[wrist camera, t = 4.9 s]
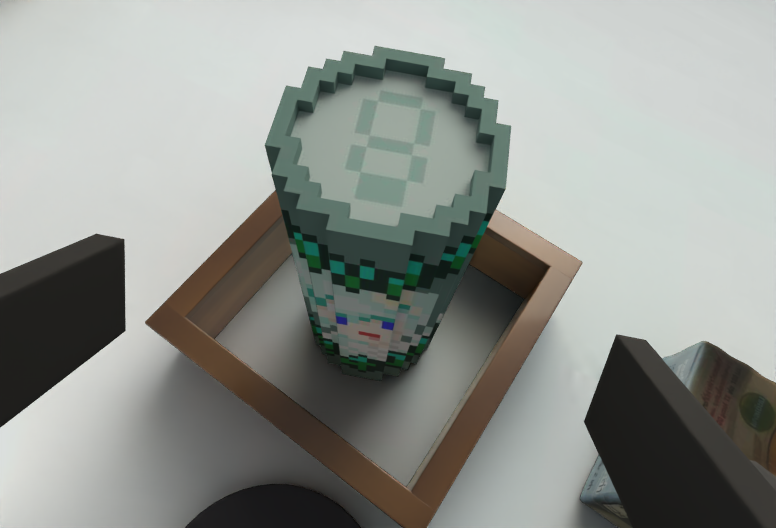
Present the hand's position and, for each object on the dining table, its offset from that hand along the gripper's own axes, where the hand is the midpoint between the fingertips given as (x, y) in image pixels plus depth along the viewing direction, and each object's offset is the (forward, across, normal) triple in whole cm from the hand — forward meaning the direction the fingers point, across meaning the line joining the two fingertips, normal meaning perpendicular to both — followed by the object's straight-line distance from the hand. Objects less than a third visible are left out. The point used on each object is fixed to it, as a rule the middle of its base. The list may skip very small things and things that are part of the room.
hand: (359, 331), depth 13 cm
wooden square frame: (+12, 0, -6) cm, 13 cm away
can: (+12, 0, -6) cm, 13 cm away
